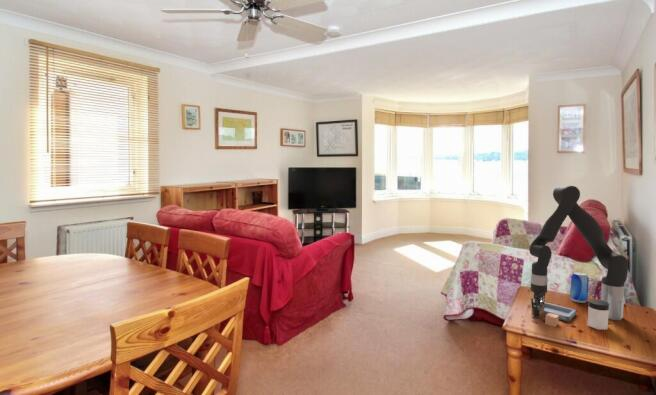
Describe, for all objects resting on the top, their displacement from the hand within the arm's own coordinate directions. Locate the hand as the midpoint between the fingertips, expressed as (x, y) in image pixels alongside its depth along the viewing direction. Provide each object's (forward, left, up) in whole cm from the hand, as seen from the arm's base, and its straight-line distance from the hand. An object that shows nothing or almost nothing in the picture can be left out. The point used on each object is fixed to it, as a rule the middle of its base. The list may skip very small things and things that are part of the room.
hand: (537, 314), depth 194 cm
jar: (-24, -9, -1) cm, 25 cm away
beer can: (-8, -41, -1) cm, 42 cm away
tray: (-5, -11, -1) cm, 12 cm away
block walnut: (0, 0, -1) cm, 1 cm away
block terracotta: (-8, +4, -1) cm, 9 cm away
